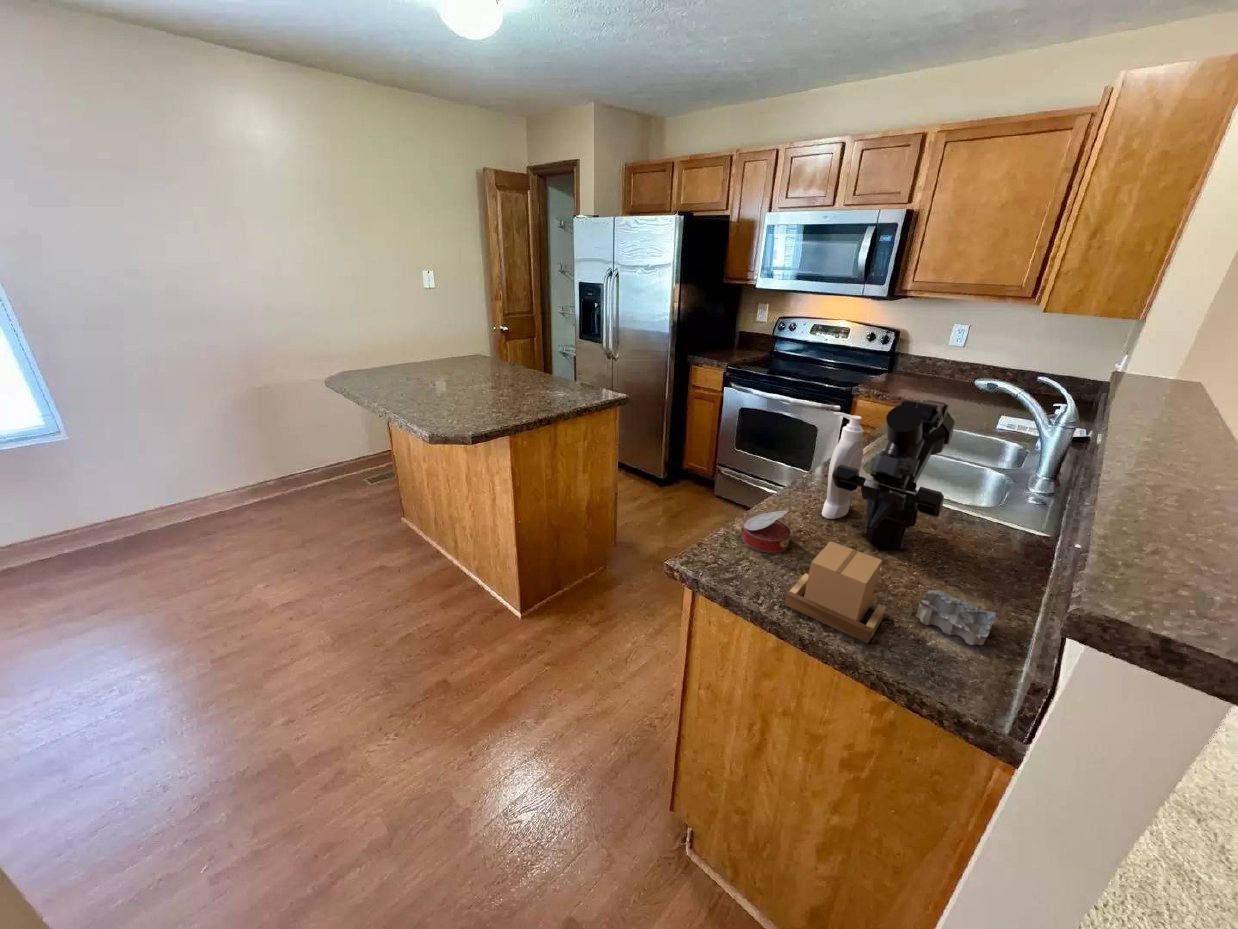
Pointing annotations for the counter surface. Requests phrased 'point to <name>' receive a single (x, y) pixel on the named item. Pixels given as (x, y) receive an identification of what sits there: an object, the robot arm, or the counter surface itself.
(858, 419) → the soap bottle
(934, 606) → the egg carton
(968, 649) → the counter surface
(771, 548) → the canned food
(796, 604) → the bay
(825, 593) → the cardboard box
